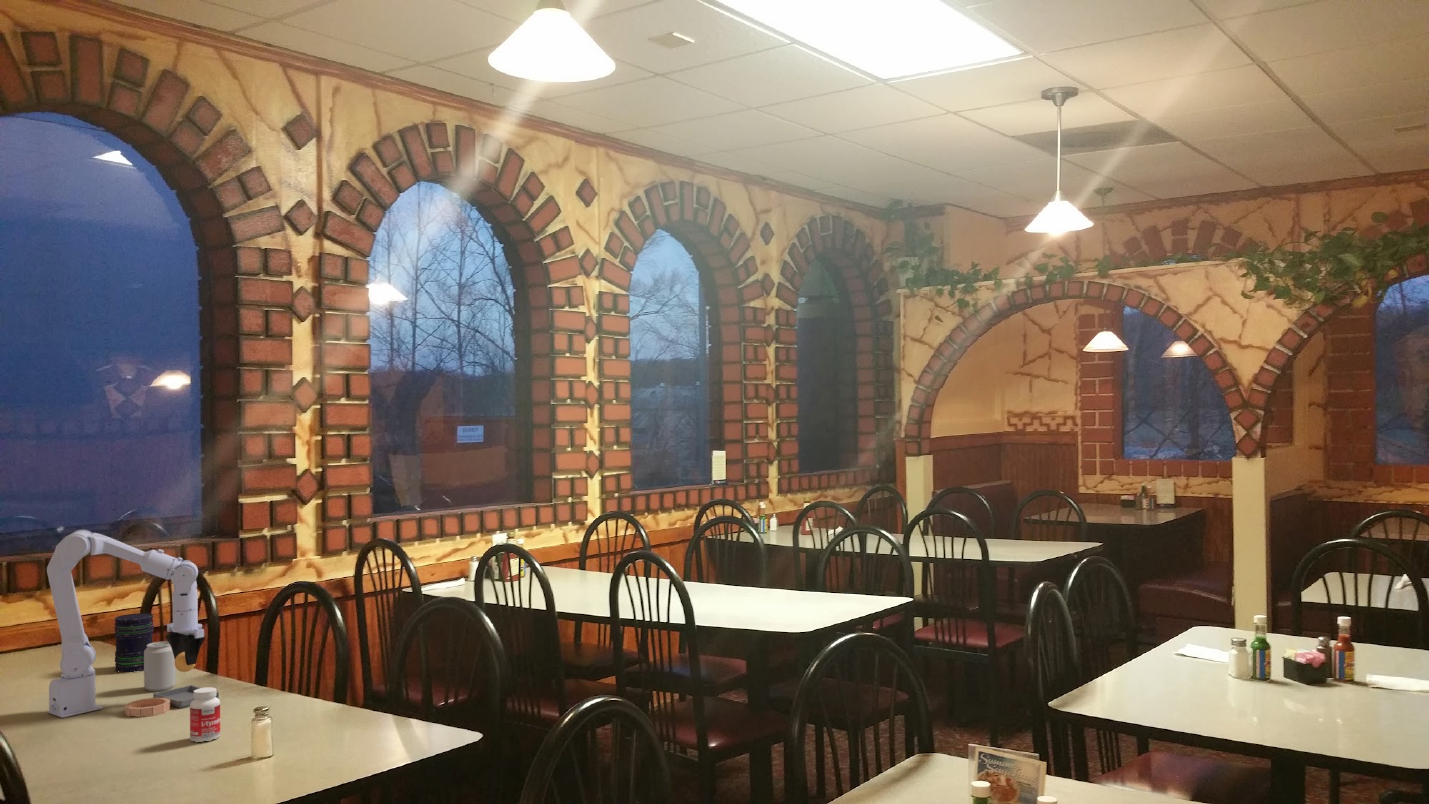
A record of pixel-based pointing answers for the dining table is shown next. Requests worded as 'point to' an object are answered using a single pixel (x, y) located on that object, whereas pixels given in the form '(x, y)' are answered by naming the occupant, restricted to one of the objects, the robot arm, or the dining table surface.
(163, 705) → the dish
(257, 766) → the dining table surface
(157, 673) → the can
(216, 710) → the pill bottle
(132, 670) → the storage jar
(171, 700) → the tray
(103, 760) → the dining table surface
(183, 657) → the ball
